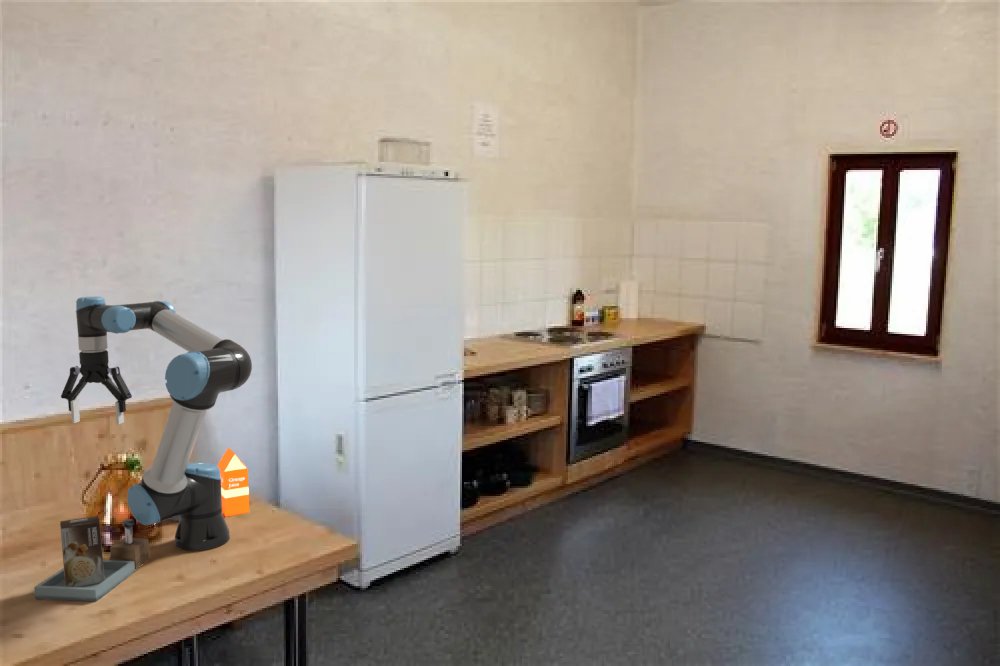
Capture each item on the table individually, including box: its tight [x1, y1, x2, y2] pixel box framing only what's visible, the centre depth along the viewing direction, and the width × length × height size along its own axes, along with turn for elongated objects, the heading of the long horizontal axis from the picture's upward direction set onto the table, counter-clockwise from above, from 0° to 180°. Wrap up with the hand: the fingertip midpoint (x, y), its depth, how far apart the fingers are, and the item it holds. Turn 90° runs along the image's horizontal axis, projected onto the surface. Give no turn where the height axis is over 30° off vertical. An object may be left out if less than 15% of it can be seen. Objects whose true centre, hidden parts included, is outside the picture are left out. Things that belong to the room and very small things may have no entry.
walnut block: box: [109, 537, 150, 570], centre depth 232 cm, size 7×7×6 cm
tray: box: [33, 559, 136, 602], centre depth 218 cm, size 16×18×3 cm
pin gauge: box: [122, 518, 135, 545], centre depth 231 cm, size 3×3×12 cm
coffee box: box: [59, 515, 105, 587], centre depth 218 cm, size 9×6×16 cm
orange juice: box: [216, 447, 250, 517], centre depth 274 cm, size 8×9×20 cm
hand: (98, 422), depth 247 cm, fingers open, 13 cm apart
